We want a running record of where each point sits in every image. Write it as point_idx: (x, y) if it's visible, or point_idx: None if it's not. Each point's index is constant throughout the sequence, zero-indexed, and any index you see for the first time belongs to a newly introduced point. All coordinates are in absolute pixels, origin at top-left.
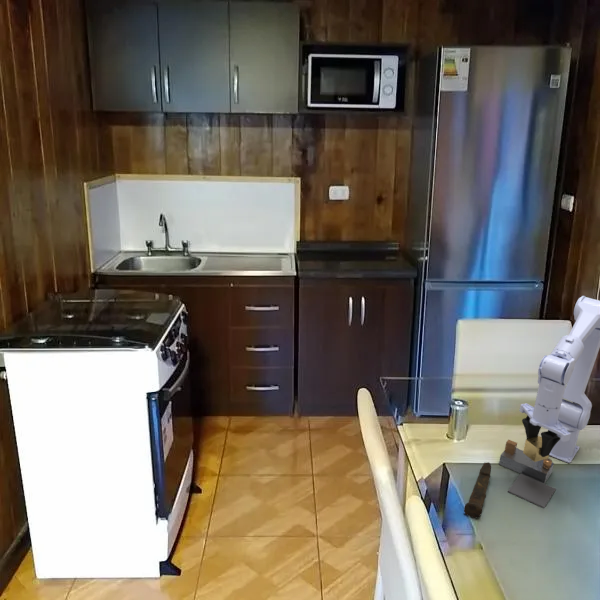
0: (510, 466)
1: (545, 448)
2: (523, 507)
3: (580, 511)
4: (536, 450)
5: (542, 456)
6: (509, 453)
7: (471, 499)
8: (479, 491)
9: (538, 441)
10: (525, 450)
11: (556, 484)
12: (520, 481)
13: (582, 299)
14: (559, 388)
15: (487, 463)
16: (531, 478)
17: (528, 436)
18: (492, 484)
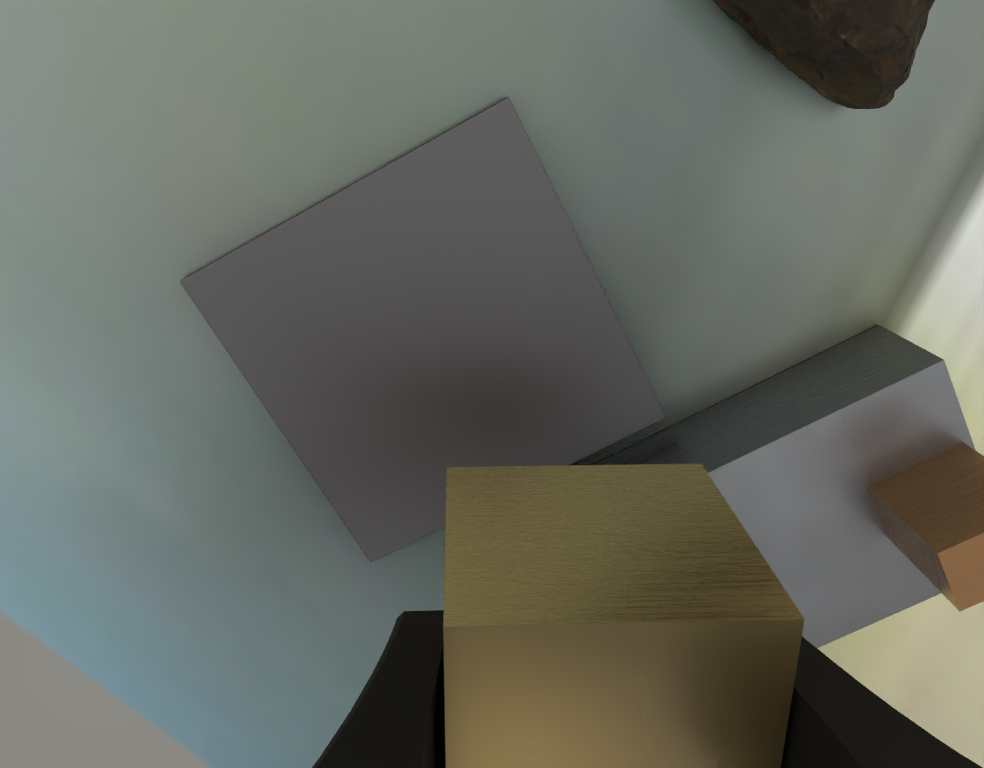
0: (782, 388)
1: (333, 751)
2: (253, 86)
3: (74, 550)
4: (457, 586)
5: (403, 616)
6: (908, 467)
7: None
8: None
9: None
10: (683, 497)
11: (430, 609)
12: (572, 331)
13: None
14: None
15: (892, 9)
16: (566, 461)
17: (831, 717)
18: (669, 24)
